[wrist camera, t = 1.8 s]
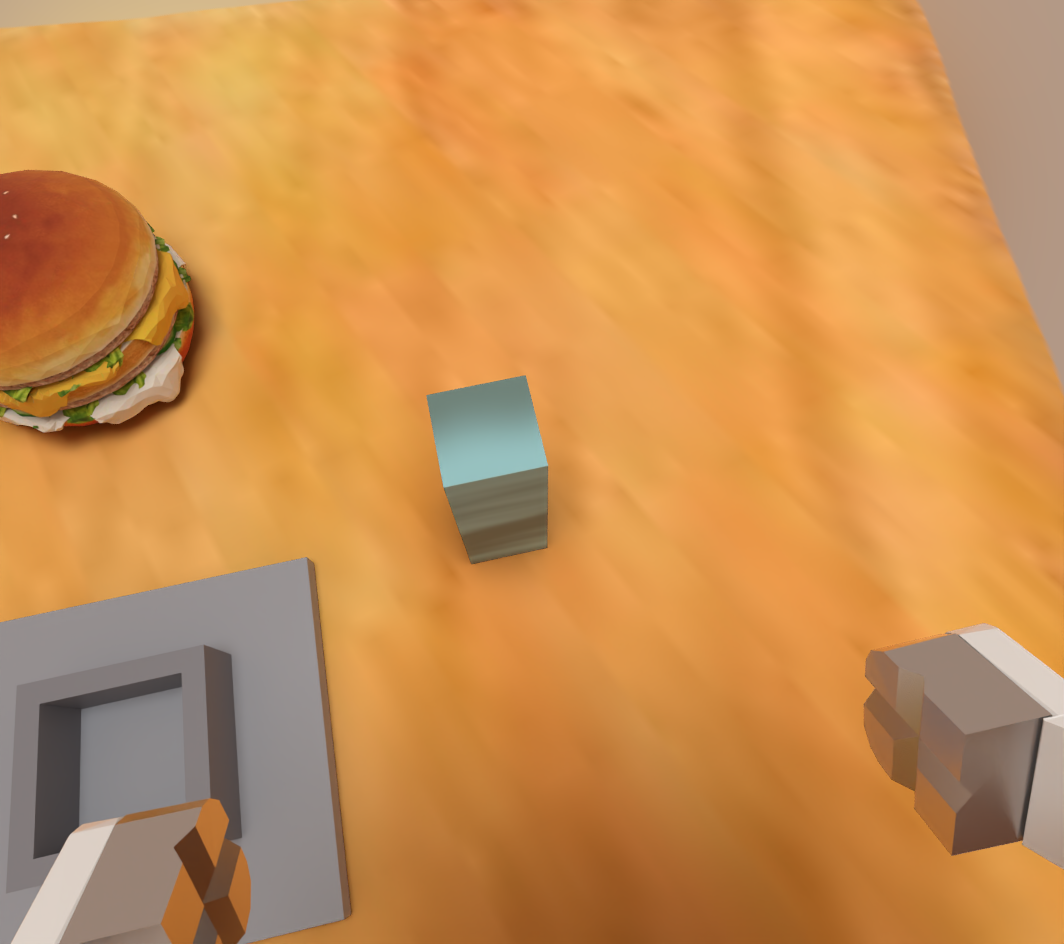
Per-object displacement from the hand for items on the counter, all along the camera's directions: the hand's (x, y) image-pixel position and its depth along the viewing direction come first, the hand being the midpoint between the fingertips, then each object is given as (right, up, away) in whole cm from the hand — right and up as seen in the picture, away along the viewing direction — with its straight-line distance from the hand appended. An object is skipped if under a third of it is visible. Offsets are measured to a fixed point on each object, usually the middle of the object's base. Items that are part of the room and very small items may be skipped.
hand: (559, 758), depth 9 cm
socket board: (-18, -10, +25) cm, 32 cm away
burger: (-26, +11, +34) cm, 44 cm away
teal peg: (-2, +1, +29) cm, 29 cm away
